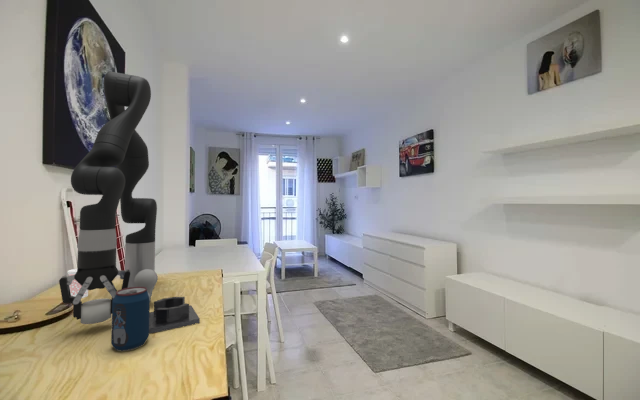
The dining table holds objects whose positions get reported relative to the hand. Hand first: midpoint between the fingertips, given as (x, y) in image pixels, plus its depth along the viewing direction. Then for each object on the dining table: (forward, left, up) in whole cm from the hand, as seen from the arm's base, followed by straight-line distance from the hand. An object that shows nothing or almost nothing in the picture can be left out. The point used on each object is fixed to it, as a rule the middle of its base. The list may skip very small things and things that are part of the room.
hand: (96, 315), depth 70 cm
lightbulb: (-14, +11, -4) cm, 18 cm away
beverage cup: (-35, -7, -4) cm, 35 cm away
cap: (0, 0, -1) cm, 1 cm away
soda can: (+13, +7, -4) cm, 16 cm away
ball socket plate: (+3, +16, -4) cm, 17 cm away
